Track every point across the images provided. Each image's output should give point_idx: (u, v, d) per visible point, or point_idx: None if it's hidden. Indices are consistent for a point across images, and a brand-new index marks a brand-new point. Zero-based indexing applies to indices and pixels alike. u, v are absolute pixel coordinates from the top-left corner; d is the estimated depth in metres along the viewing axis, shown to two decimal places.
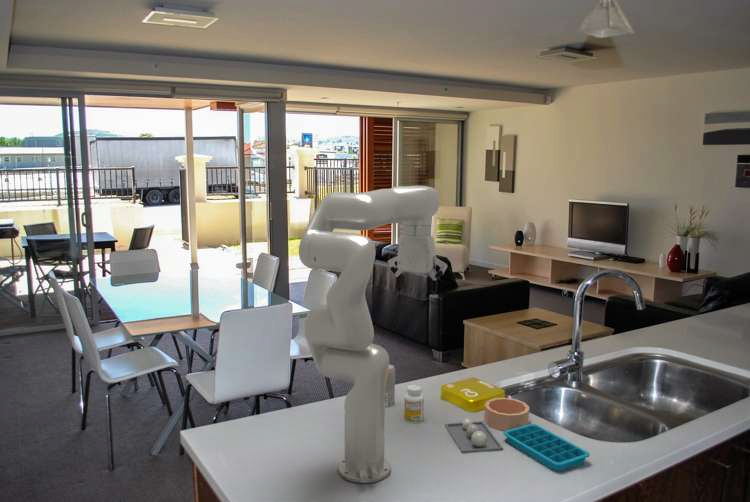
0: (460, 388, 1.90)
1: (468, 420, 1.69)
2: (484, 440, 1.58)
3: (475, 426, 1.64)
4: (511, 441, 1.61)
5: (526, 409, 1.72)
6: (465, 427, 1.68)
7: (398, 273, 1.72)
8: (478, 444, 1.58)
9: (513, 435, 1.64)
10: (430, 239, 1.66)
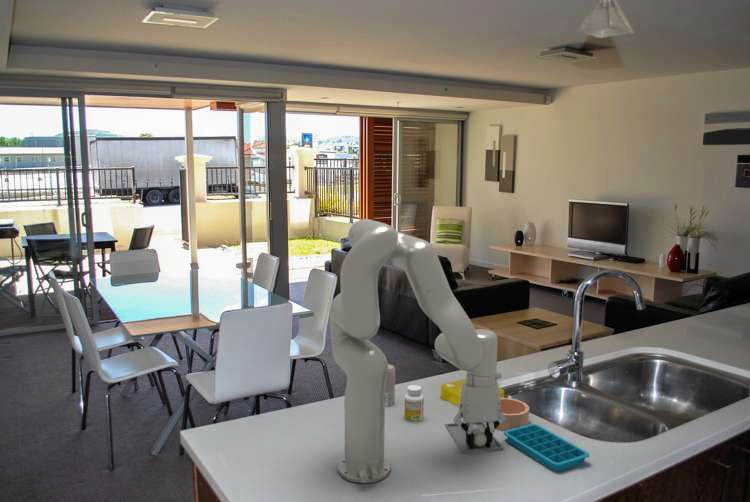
0: (460, 387, 1.90)
1: None
2: (484, 440, 1.58)
3: (475, 426, 1.64)
4: (511, 441, 1.61)
5: (526, 409, 1.72)
6: None
7: None
8: (478, 444, 1.58)
9: (514, 435, 1.64)
10: (462, 384, 1.58)
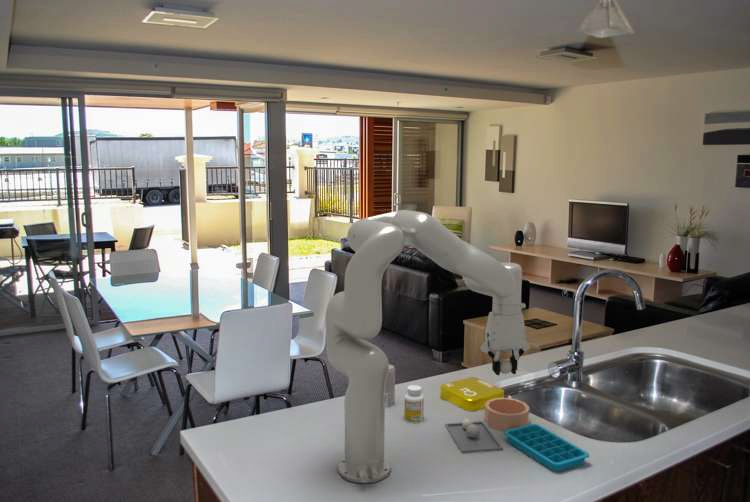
0: (459, 387, 1.90)
1: (468, 420, 1.69)
2: (510, 367, 1.68)
3: (475, 426, 1.64)
4: (511, 440, 1.61)
5: (526, 409, 1.72)
6: (465, 427, 1.68)
7: None
8: (504, 370, 1.68)
9: (514, 435, 1.64)
10: None
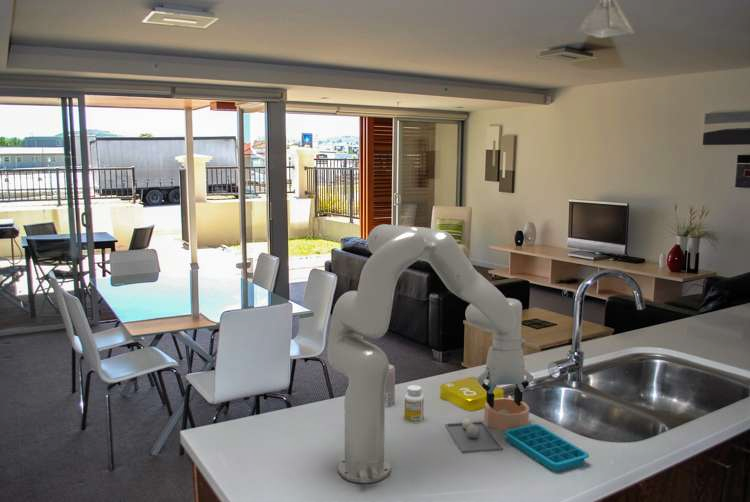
0: (459, 387, 1.91)
1: (468, 420, 1.69)
2: None
3: (475, 426, 1.64)
4: (511, 440, 1.61)
5: (526, 409, 1.72)
6: (465, 427, 1.68)
7: None
8: None
9: (514, 434, 1.64)
10: (489, 349, 1.70)
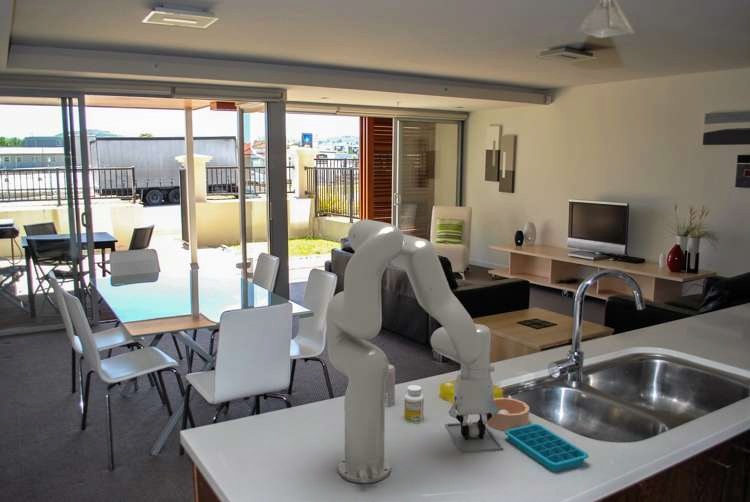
0: None
1: (468, 420, 1.69)
2: None
3: (475, 426, 1.64)
4: (512, 440, 1.61)
5: (526, 409, 1.72)
6: None
7: None
8: None
9: (515, 434, 1.65)
10: None
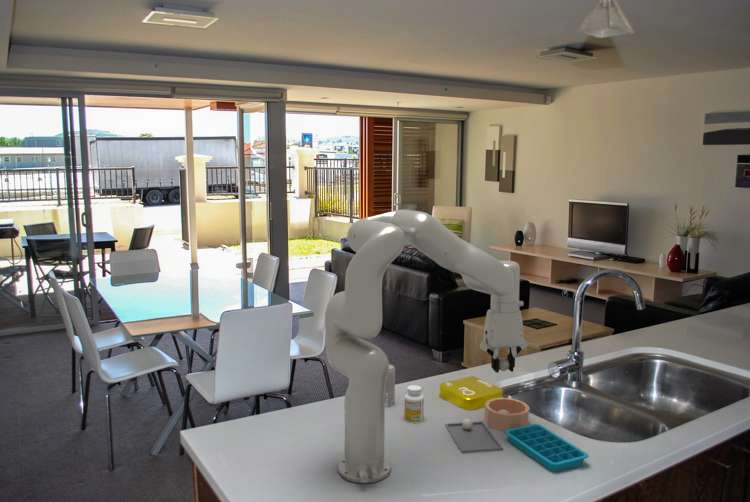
0: (458, 386, 1.91)
1: (468, 420, 1.69)
2: None
3: (505, 359, 1.70)
4: (512, 440, 1.61)
5: (526, 409, 1.72)
6: (465, 427, 1.68)
7: None
8: None
9: (515, 434, 1.65)
10: (487, 312, 1.69)
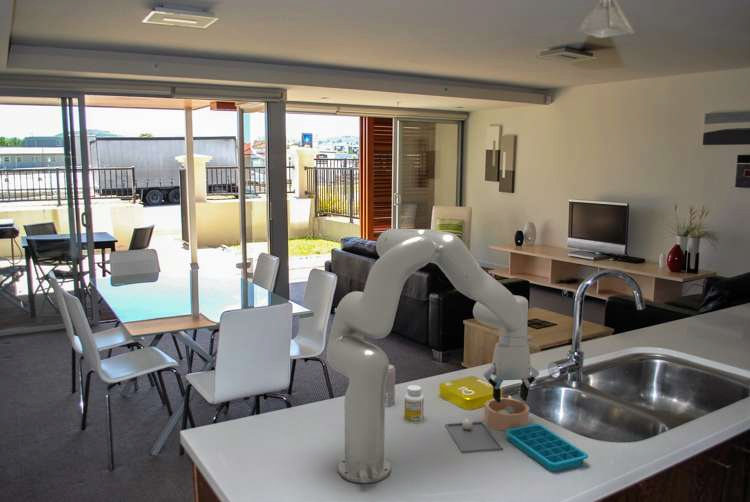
0: (458, 386, 1.91)
1: (468, 420, 1.69)
2: None
3: (512, 408, 1.75)
4: (512, 440, 1.62)
5: (526, 409, 1.72)
6: (465, 427, 1.68)
7: None
8: None
9: (515, 434, 1.65)
10: None
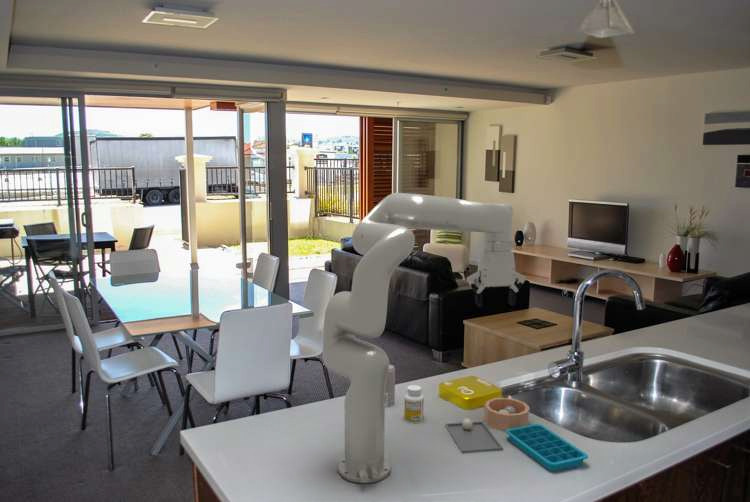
0: (458, 386, 1.92)
1: (468, 420, 1.69)
2: None
3: (512, 408, 1.75)
4: (512, 439, 1.62)
5: (526, 409, 1.72)
6: (465, 427, 1.68)
7: None
8: None
9: (516, 434, 1.65)
10: None
